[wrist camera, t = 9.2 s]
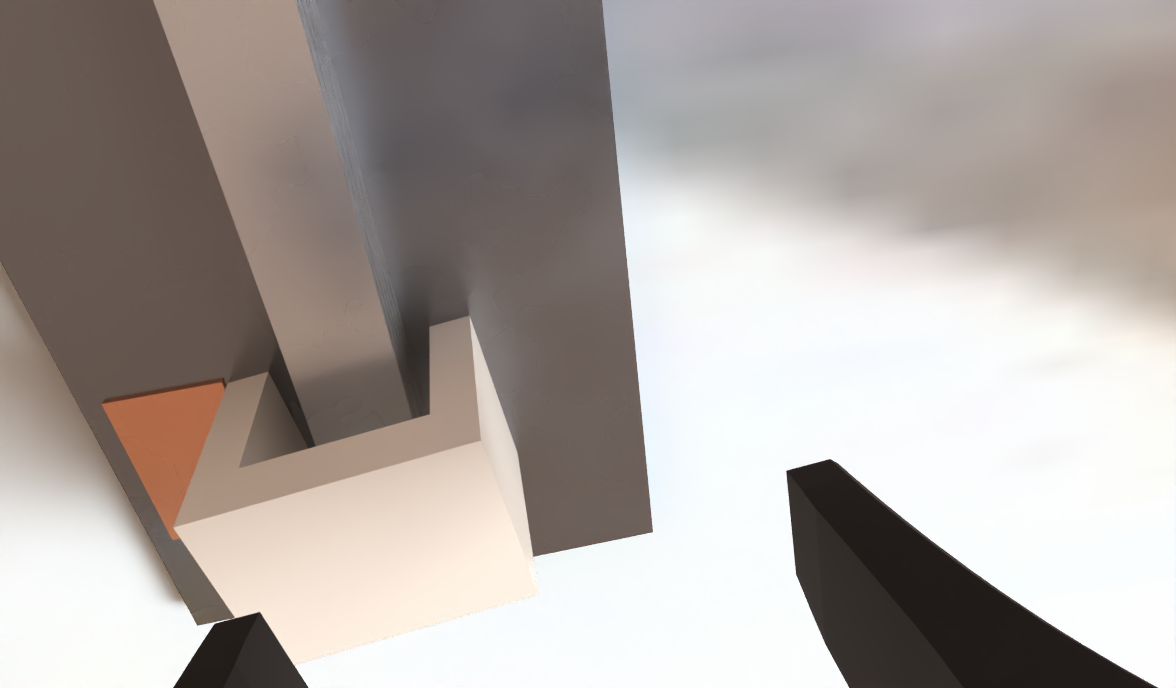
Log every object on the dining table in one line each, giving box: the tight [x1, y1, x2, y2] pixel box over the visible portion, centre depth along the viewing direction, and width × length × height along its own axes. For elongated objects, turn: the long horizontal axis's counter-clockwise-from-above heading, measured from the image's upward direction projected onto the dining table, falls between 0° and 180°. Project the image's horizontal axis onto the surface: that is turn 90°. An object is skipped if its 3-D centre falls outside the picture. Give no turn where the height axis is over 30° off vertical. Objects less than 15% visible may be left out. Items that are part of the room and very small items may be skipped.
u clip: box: [173, 316, 539, 665], centre depth 17 cm, size 5×4×4 cm
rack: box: [0, 0, 653, 626], centre depth 16 cm, size 12×18×3 cm, turn 6°
